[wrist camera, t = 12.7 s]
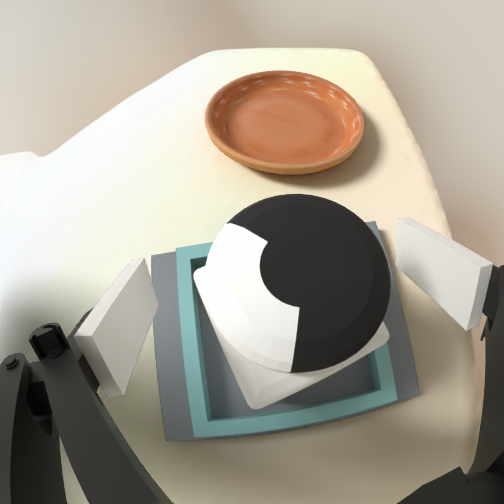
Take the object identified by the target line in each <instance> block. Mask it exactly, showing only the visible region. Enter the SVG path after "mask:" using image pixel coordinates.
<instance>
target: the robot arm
mask: <svg viewBox="0 0 504 504" xmlns="http://www.w3.org/2000/svg"><path fill="white" fill-rule="evenodd" d="M395 266H396V267H397V268H398V269H399V270H400V271H401V272H403V273H404V274H405V275H406V276H407V277H408V278H410V279H411V280H412V281H413V282H414V283H415V284H416V285H418V286H419V287H420V288H421V289H422V290H423V291H424V292H425V293H426V294H428V295H429V296H430V297H431V298H432V299H433V300H434V301H435V302H436V303H437V304H439V305H440V306H441V307H442V308H443V309H444V310H445V311H446V312H447V313H448V314H449V315H450V316H451V317H452V318H453V319H454V320H455V321H457V322H458V323H459V324H460V325H461V326H462V327H463V328H464V329H465V330H466V331H467V330H470V329H472V328H474V327H476V326H478V325H479V322H480V319H481V315H482V313H484V314H485V315H486V316H487V320H486V323H485V327H484V330H483V333H482V336H481V341H482V340H483V338H484V337H485V339H486V340H485V341H486V365H485V388H484V400H483V410H482V419H481V426H480V433H479V439H478V445H477V450H476V455H475V459H474V462H473V464H472V466H471V468H470V470H469V472H468V473H467V474H464V473H463V471H462V469H461V467H460V466H459V467H458V468H456V469H454V470H452V471H450V472H448V473H447V474H445V475H443V476H441V477H439V478H437V479H435V480H433V481H431V482H429V483H426V484H424V485H422V486H421V487H420V488H418V489H417V490H416V491H414V492H413V493H412V494H410V495H409V496H407V497H406V498H404V499H403V500H401V501H400V502H398V503H397V504H504V265H502V266H500V267H499V268H497V267H496V266H494V265H493V264H492V263H491V262H489V261H487V260H486V259H484V258H482V257H481V256H479V255H477V254H476V253H474V252H472V251H471V250H469V249H467V248H465V247H464V246H462V245H460V244H458V243H457V242H455V241H453V240H451V239H449V238H448V237H446V236H444V235H442V234H440V233H438V232H436V231H435V230H433V229H431V228H429V227H427V226H425V225H423V224H421V223H419V222H417V221H415V220H413V219H411V218H409V217H405V218H398V219H397V233H396V262H395ZM158 306H159V304H158V301H157V298H156V295H155V292H154V288H153V285H152V282H151V278H150V275H149V272H148V268H147V265H146V261H145V258H139V259H133V260H130V262H129V263H128V264H127V265H126V267H125V268H124V269H123V270H122V272H121V273H120V274H119V276H118V277H117V278H116V279H115V281H114V282H113V283H112V284H111V286H110V287H109V288H108V290H107V291H106V292H105V294H104V295H103V296H102V298H101V299H100V300H99V302H98V303H97V304H96V306H95V307H94V308H92V309H91V310H90V311H88V312H87V313H86V314H85V315H84V316H83V317H82V319H81V320H80V323H78V324H77V325H76V328H74V330H73V331H72V332H71V334H70V335H69V337H68V338H67V339H66V337H65V335H64V333H63V331H62V329H61V327H60V325H59V324H58V323H48V324H45V325H43V326H41V327H39V328H37V329H36V330H35V331H34V332H33V333H32V334H31V335H30V337H29V342H30V344H31V345H32V347H33V349H34V351H35V353H36V355H37V356H38V358H39V360H40V361H37V362H33V363H28V361H27V360H26V358H25V356H24V355H23V354H20V353H17V354H13V355H10V356H8V358H5V359H4V361H3V362H2V363H1V365H0V504H67V501H66V495H65V489H64V482H63V475H62V466H61V456H60V443H59V434H60V437H61V440H62V443H63V445H64V448H65V451H66V453H67V456H68V458H69V461H70V463H71V466H72V468H73V470H74V473H75V475H76V477H77V479H78V481H79V484H80V486H81V488H82V490H83V492H84V494H85V496H86V498H87V500H88V502H89V504H173V503H172V502H171V500H170V499H169V498H168V497H167V496H166V494H165V493H164V492H163V491H162V490H161V488H160V487H159V486H158V485H157V483H156V482H155V481H154V480H153V478H152V477H151V476H150V474H149V473H148V472H147V470H146V469H145V468H144V466H143V465H142V464H141V462H140V461H139V459H138V458H137V457H136V455H135V454H134V452H133V451H132V449H131V448H130V446H129V445H128V443H127V442H126V440H125V439H124V437H123V436H122V434H121V433H120V431H119V430H118V428H117V426H116V425H115V423H114V421H113V420H112V418H111V416H110V415H109V413H108V411H107V409H106V408H105V406H104V404H103V402H102V401H101V399H100V397H99V396H98V394H97V389H98V387H99V385H100V386H101V388H102V389H103V391H104V393H105V394H106V396H124V394H125V392H126V389H127V386H128V383H129V380H130V378H131V375H132V372H133V369H134V367H135V364H136V361H137V359H138V356H139V353H140V351H141V348H142V346H143V343H144V341H145V338H146V335H147V333H148V330H149V328H150V325H151V323H152V320H153V318H154V316H155V313H156V311H157V308H158Z"/></svg>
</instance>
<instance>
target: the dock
mask: <svg viewBox="0 0 504 504" xmlns="http://www.w3.org/2000/svg"><path fill="white" fill-rule="evenodd" d="M365 223H366V224H367V226H368V227H369V228H370V229H371V230H372V231H373V233H374V234H375V236H376V237H377V239H378V240H379V242H380V244H381V246H382V248H383V250H384V253H385V255H386V258H387V261H388V266H389V270H390V280H391V290H390V299H389V304H388V308H387V311H386V314H385V316H384V319H383V322H384V324H385V326H386V328H387V330H388V332H389V335H390V336H389V339H388V341H387V342H386V343H385V344H383V345H381V346H380V347H378V348H377V349H375V350H373V351H372V352H370V353H368V354H367V355H365V356H363V357H362V358H360V359H358V360H357V361H355V362H353V363H351V364H350V365H348V366H346V367H344V368H342V369H341V370H339V371H337V372H335V373H333V374H331V375H330V376H328V377H326V378H324V379H322V380H320V381H318V382H316V383H314V384H312V385H310V386H308V387H306V388H304V389H302V390H300V391H298V392H296V393H294V394H292V395H290V396H287V397H285V398H283V399H281V400H279V401H276V402H274V403H272V404H270V405H267V406H265V407H263V408H260V409H252V408H251V407H250V406H249V405H248V403H247V401H246V399H245V397H244V395H243V393H242V391H241V389H240V387H239V384H238V382H237V380H236V378H235V376H234V373H233V371H232V369H231V367H230V365H229V362H228V360H227V358H226V356H225V353H224V351H223V349H222V346H221V344H220V342H219V340H218V337H217V335H216V332H215V330H214V328H213V325H212V323H211V321H210V318H209V316H208V313H207V311H206V308H205V306H204V304H203V301H202V299H201V296H200V294H199V291H198V288H197V286H196V283H195V281H194V272H195V271H196V270H197V269H199V268H202V267H204V266H206V262H207V258H208V254H209V252H210V249H211V247H212V244H213V243H214V242H211V243H205V244H199V245H193V246H187V247H181V248H176V252H170V253H164V254H158V255H152V256H151V279H152V285H153V288H154V292H155V295H156V298H157V301H158V304H159V306H158V308H157V311H156V313H155V316H154V318H153V329H154V344H155V356H156V367H157V377H158V386H159V395H160V403H161V410H162V417H163V424H164V431H165V437H166V440H210V439H225V438H237V437H246V436H255V435H263V434H270V433H277V432H283V431H289V430H295V429H300V428H305V427H310V426H315V425H320V424H324V423H329V422H333V421H337V420H341V419H345V418H349V417H353V416H356V415H360V414H363V413H367V412H370V411H373V410H377V409H380V408H383V407H386V406H389V405H392V404H395V403H398V402H401V401H403V400H406V399H409V398H412V397H414V396H417V395H419V394H420V392H419V385H418V379H417V374H416V368H415V363H414V357H413V352H412V348H411V343H410V338H409V334H408V330H407V325H406V321H405V317H404V313H403V309H402V305H401V301H400V298H399V294H398V290H397V287H396V283H395V280H394V277H393V273H392V270H391V267H390V263H389V260H388V257H387V254H386V251H385V248H384V245H383V242H382V239H381V236H380V233H379V230H378V227H377V225H376V222H375V221H372V222H365Z"/></svg>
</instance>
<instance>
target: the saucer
mask: <svg viewBox="0 0 504 504" xmlns="http://www.w3.org/2000/svg"><path fill="white" fill-rule="evenodd" d="M205 124H206V128H207V131H208V133H209V136H210V138H211V140H212V141H213V143H214V144H215V145H216V147H217V148H218V149H219V150H220V151H221V152H223V153H224V154H225V155H226V156H228V157H229V158H231V159H233V160H234V161H236V162H238V163H240V164H242V165H245V166H247V167H250V168H253V169H257V170H260V171H264V172H270V173H277V174H307V173H313V172H318V171H322V170H325V169H328V168H331V167H333V166H335V165H338V164H340V163H341V162H343V161H344V160H346V159H347V158H348V157H349V156H351V155H352V154H353V152H354V151H355V150H356V148H357V147H358V145H359V144H360V142H361V140H362V138H363V135H364V130H365V121H364V116H363V113H362V111H361V109H360V107H359V105H358V104H357V103H356V101H355V100H354V99H353V98H352V97H351V96H350V95H349V94H348V93H347V92H346V91H344V90H343V89H342V88H340V87H339V86H337V85H335V84H334V83H332V82H330V81H327V80H325V79H323V78H320V77H317V76H314V75H311V74H307V73H302V72H295V71H265V72H259V73H254V74H250V75H246V76H243V77H241V78H238V79H236V80H234V81H232V82H230V83H228V84H226V85H225V86H223V87H222V88H221V89H219V90H218V91H217V92H216V93H215V94H214V96H213V97H212V98H211V100H210V101H209V103H208V105H207V108H206V112H205Z"/></svg>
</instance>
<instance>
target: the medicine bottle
mask: <svg viewBox="0 0 504 504" xmlns="http://www.w3.org/2000/svg"><path fill="white" fill-rule="evenodd" d="M194 281H195V283H196V286H197V288H198V291H199V294H200V296H201V299H202V301H203V304H204V306H205V308H206V311H207V313H208V316H209V318H210V321H211V323H212V325H213V328H214V330H215V332H216V335H217V337H218V340H219V342H220V344H221V346H222V349H223V351H224V353H225V356H226V358H227V360H228V362H229V365H230V367H231V369H232V371H233V373H234V376H235V378H236V380H237V382H238V384H239V387H240V389H241V391H242V393H243V395H244V397H245V399H246V401H247V403H248V405H249V406H250V407H251V408H252V409H260V408H263V407H265V406H267V405H270V404H272V403H274V402H276V401H279V400H281V399H283V398H285V397H287V396H290V395H292V394H294V393H296V392H298V391H300V390H302V389H304V388H306V387H308V386H310V385H312V384H314V383H316V382H318V381H320V380H322V379H324V378H326V377H328V376H330V375H331V374H333V373H335V372H337V371H339V370H341V369H342V368H344V367H346V366H348V365H350V364H351V363H353V362H355V361H357V360H358V359H360V358H362V357H363V356H365V355H367V354H368V353H370V352H372V351H373V350H375V349H377V348H378V347H380V346H381V345H383V344H385V343H386V342H387V341H388V339H389V336H390V335H389V332H388V330H387V328H386V326H385V324H384V322H383V319H384V316H385V314H386V311H387V308H388V304H389V299H390V290H391V280H390V270H389V266H388V261H387V258H386V255H385V253H384V250H383V248H382V246H381V244H380V242H379V240H378V239H377V237H376V236H375V234H374V233H373V231H372V230H371V229H370V228H369V227H368V226H367V224H366V223H365V222H364V221H363V220H362V219H360V218H359V217H358V216H357V215H356V214H355V213H353V212H352V211H350V210H349V209H347V208H346V207H344V206H342V205H340V204H338V203H336V202H334V201H331V200H328V199H325V198H322V197H318V196H313V195H305V194H286V195H278V196H274V197H270V198H266V199H263V200H261V201H258V202H256V203H254V204H252V205H250V206H248V207H247V208H245V209H243V210H242V211H241V212H239V213H238V214H236V215H235V216H234V217H233V218H232V219H231V220H230V221H229V222H228V223H227V224H226V225H225V226H224V227H223V229H222V230H221V231H220V233H219V234H218V236H217V237H216V239H215V241H214V243H213V244H212V247H211V249H210V252H209V254H208V258H207V262H206V266H204V267H202V268H199V269H197V270H196V271H195V272H194Z"/></svg>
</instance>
